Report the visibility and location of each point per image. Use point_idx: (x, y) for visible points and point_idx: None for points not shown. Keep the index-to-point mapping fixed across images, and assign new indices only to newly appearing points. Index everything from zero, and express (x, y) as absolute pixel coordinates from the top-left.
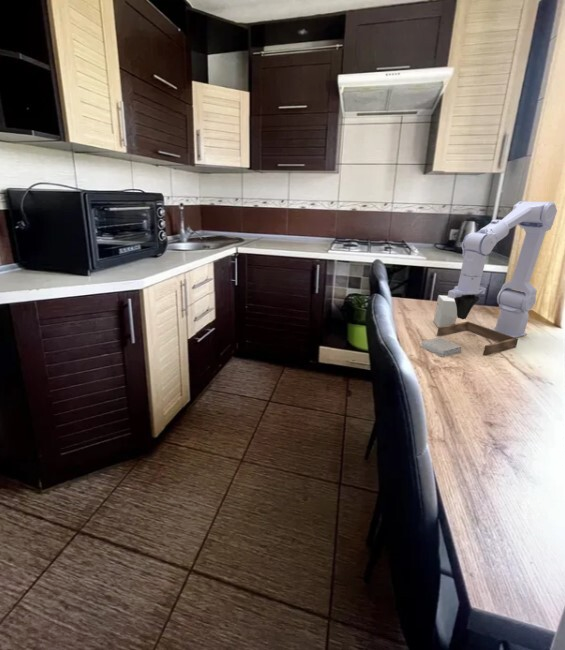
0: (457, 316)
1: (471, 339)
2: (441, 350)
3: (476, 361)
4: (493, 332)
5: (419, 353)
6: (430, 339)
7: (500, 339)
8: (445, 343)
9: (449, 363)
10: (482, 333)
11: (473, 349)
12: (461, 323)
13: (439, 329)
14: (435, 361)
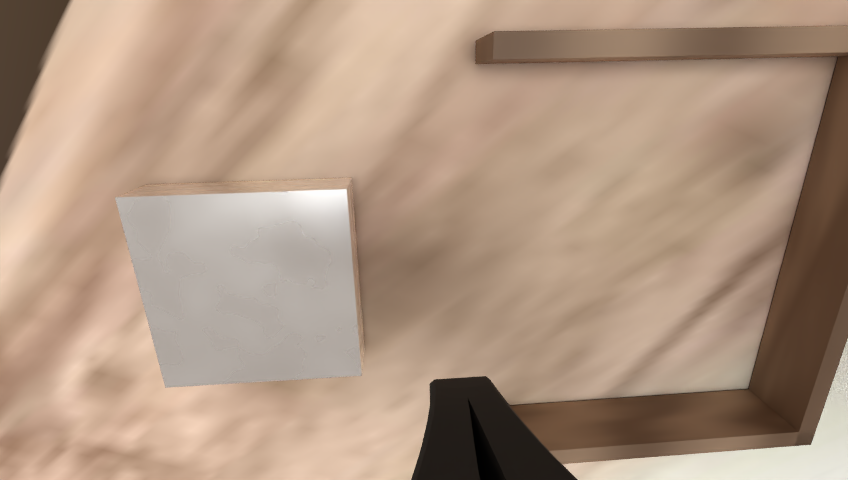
0: (431, 390)
1: (656, 218)
2: (162, 368)
3: (350, 451)
4: (830, 295)
5: (57, 265)
6: (217, 198)
7: (785, 333)
8: (283, 301)
9: (167, 425)
10: (817, 203)
11: (492, 340)
12: (828, 44)
13: (489, 53)
14: (94, 384)
